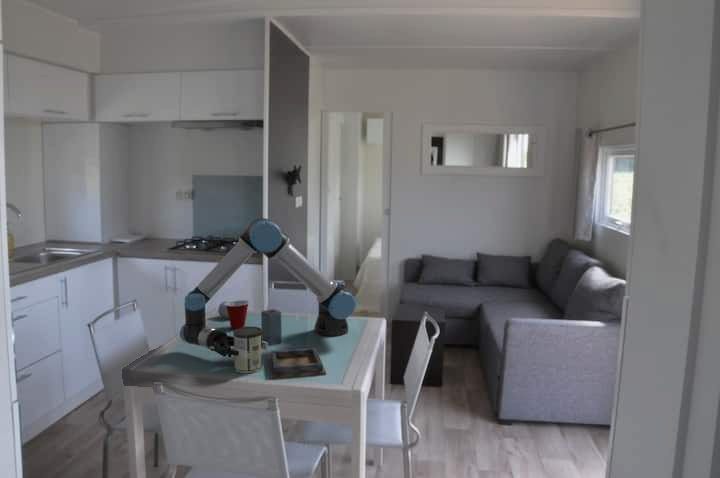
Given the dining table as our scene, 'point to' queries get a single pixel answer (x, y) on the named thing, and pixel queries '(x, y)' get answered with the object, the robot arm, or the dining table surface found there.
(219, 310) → the ceramic mug
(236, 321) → the plastic cup
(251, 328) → the coffee can
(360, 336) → the dining table surface
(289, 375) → the tray
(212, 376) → the dining table surface
